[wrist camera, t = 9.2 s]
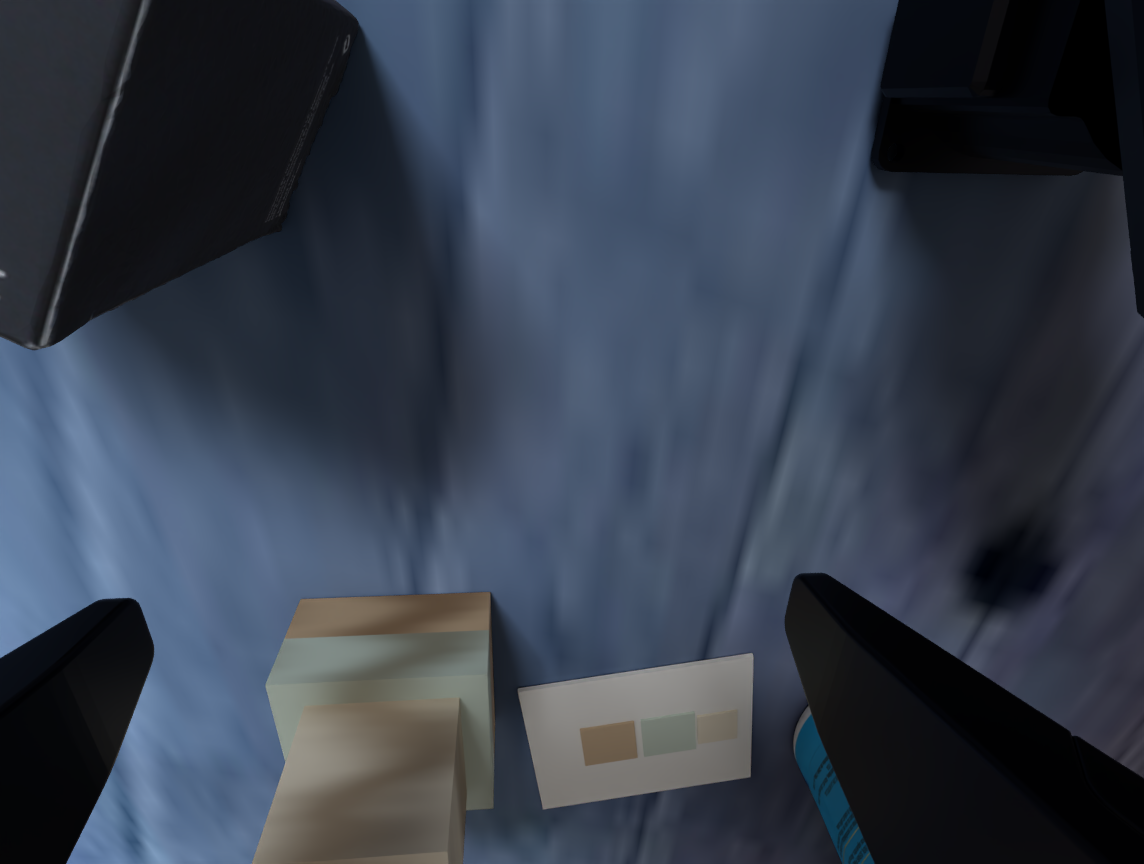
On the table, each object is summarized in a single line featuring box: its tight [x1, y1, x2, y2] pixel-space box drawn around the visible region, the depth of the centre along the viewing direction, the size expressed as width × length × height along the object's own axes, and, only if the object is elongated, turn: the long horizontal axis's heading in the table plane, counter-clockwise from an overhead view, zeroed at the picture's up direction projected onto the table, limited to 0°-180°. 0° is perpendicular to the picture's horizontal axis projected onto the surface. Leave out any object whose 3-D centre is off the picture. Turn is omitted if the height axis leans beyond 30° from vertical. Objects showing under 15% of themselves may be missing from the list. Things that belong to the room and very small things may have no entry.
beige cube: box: [252, 697, 467, 864], centre depth 20 cm, size 5×5×5 cm
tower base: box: [265, 592, 495, 810], centre depth 24 cm, size 7×7×4 cm
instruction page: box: [518, 653, 754, 809], centre depth 29 cm, size 10×8×1 cm
